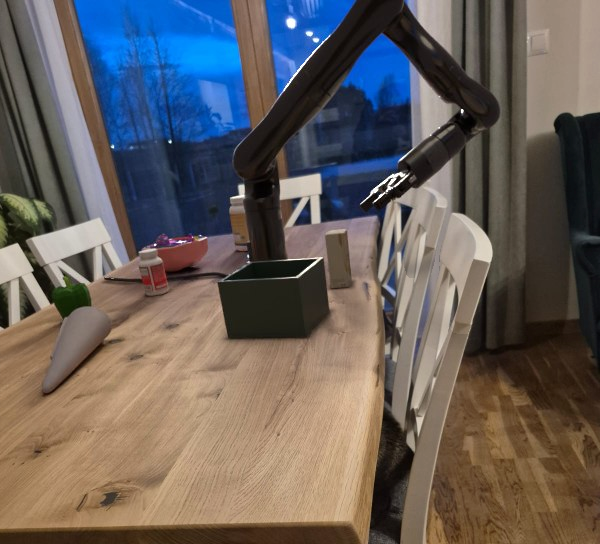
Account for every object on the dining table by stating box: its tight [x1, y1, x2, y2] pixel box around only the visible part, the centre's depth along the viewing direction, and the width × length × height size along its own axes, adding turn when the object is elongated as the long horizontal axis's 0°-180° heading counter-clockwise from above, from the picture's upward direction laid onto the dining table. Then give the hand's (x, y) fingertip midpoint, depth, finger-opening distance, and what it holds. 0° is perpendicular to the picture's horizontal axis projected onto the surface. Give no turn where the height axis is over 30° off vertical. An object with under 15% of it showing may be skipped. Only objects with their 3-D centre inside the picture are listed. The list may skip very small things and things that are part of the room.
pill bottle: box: [137, 249, 170, 297], centre depth 149 cm, size 6×6×11 cm
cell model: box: [141, 233, 209, 273], centre depth 175 cm, size 17×20×11 cm
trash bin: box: [217, 257, 330, 339], centre depth 111 cm, size 16×16×11 cm
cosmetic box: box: [324, 228, 353, 289], centre depth 132 cm, size 6×4×12 cm
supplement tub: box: [228, 194, 249, 252], centre depth 192 cm, size 12×12×17 cm
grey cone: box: [41, 306, 113, 394], centre depth 105 cm, size 8×9×26 cm
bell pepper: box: [51, 275, 93, 320], centre depth 135 cm, size 8×8×10 cm
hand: (368, 208), depth 130 cm, fingers open, 8 cm apart
